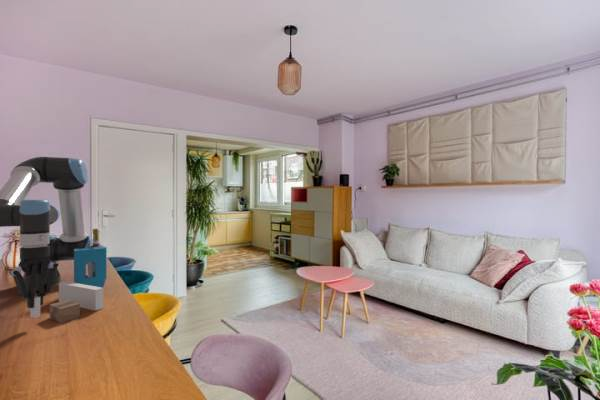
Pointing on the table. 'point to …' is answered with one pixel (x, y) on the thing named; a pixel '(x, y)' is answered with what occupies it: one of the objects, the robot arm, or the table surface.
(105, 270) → the block
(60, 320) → the walnut block
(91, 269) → the liquor
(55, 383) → the table surface
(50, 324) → the table surface
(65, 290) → the grey board
